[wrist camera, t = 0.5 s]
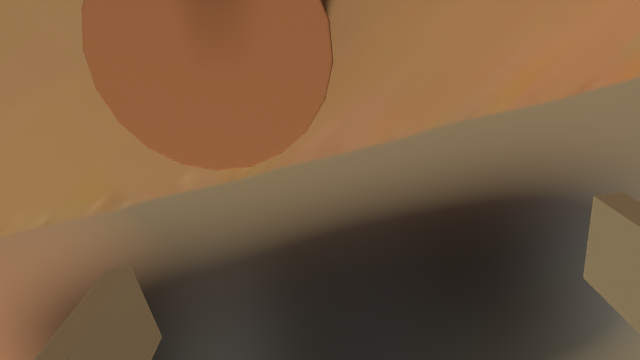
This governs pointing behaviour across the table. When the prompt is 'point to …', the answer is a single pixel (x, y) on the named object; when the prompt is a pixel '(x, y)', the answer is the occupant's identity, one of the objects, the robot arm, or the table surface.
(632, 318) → the robot arm
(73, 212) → the table surface
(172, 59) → the coffee jar
